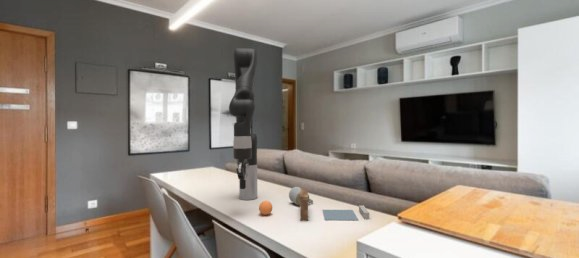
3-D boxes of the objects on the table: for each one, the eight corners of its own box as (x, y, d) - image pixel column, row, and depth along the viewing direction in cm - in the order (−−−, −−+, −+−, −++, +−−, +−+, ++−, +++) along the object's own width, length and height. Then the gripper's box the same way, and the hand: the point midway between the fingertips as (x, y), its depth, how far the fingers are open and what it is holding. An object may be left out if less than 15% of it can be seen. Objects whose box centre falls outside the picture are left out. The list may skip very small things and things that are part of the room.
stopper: (364, 219, 108) (364, 212, 108) (359, 211, 118) (359, 205, 118) (369, 219, 108) (369, 212, 108) (363, 211, 118) (363, 205, 118)
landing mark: (324, 220, 107) (324, 219, 107) (322, 210, 120) (322, 209, 120) (358, 220, 107) (358, 219, 107) (352, 210, 120) (352, 209, 120)
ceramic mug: (296, 207, 125) (296, 190, 125) (288, 203, 132) (288, 187, 132) (316, 205, 129) (316, 188, 129) (308, 200, 137) (308, 185, 137)
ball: (256, 214, 116) (256, 200, 116) (268, 211, 119) (268, 198, 119) (262, 217, 111) (262, 203, 111) (274, 215, 114) (274, 201, 114)
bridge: (300, 220, 107) (300, 196, 107) (300, 209, 122) (300, 188, 122) (308, 220, 107) (308, 196, 107) (307, 209, 122) (307, 188, 121)
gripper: (248, 148, 109) (248, 192, 108) (254, 146, 122) (254, 185, 122) (229, 148, 109) (230, 192, 109) (237, 146, 122) (237, 185, 122)
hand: (243, 188), depth 115 cm, fingers closed
